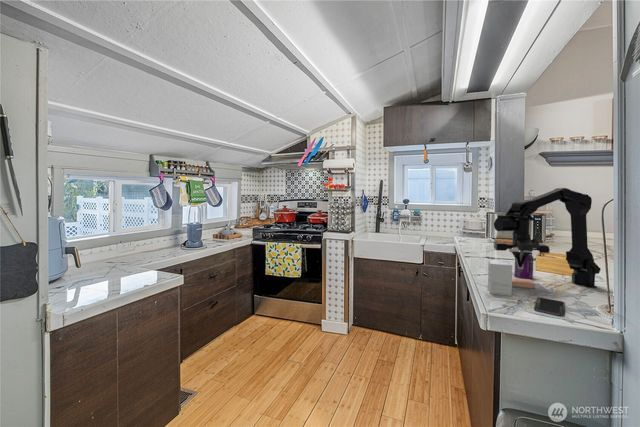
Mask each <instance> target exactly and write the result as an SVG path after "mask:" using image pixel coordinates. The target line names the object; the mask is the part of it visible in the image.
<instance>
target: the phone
mask: <svg viewBox="0 0 640 427" xmlns="http://www.w3.org/2000/svg"><path fill="white" fill-rule="evenodd" d="M565 304H566V303H565V301H562V300H556V299H550V298H545V297H540V296H539V297H537V298H536V302H535V304H534V307H533V309H534V311H535V312H537V313H538V312H539V313H543V314H547V315H552V316H557V317H561V316H562V317H563V316H564V317H565V313H566V311H565Z"/></svg>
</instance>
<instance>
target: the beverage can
mask: <svg viewBox="0 0 640 427" xmlns="http://www.w3.org/2000/svg"><path fill="white" fill-rule="evenodd" d="M513 274H514V275H513V276H514V277H516V278H517V279H530V280H532V279H533V278H534V256H533V253H532V254H529V255H528V256H527V257H526V259H525V261H524V263H523V265H522V267H521V268H520V267H518V265H517V262H516V260H515V259H514V273H513Z"/></svg>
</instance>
